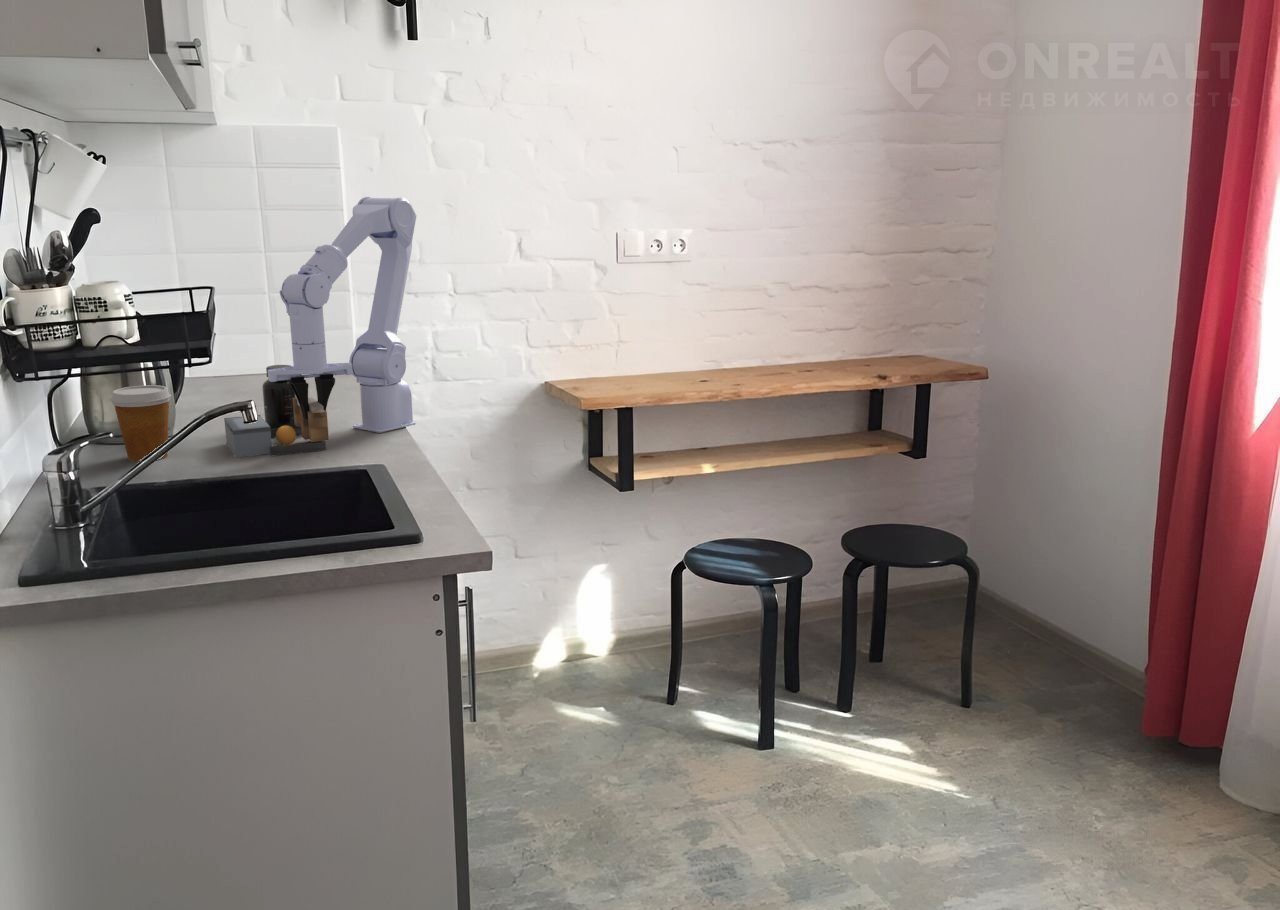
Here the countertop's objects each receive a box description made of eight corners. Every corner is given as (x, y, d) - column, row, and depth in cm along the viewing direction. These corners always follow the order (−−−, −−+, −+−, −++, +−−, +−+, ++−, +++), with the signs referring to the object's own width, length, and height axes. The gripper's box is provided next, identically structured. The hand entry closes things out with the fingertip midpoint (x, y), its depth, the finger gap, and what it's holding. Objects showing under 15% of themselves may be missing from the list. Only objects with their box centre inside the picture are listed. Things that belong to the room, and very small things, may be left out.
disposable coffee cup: (113, 466, 182) (104, 396, 179) (123, 452, 191) (115, 386, 188) (173, 462, 184) (166, 393, 181) (181, 449, 193) (173, 383, 190)
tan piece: (311, 428, 206) (308, 391, 204) (329, 445, 192) (326, 406, 191) (295, 429, 205) (292, 392, 203) (312, 447, 191) (309, 407, 189)
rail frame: (309, 432, 206) (308, 425, 205) (326, 449, 193) (325, 441, 192) (257, 438, 201) (256, 430, 201) (271, 455, 188) (270, 447, 188)
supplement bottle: (258, 428, 209) (252, 367, 206) (284, 421, 215) (279, 362, 212) (283, 432, 206) (278, 370, 203) (309, 425, 212) (305, 365, 209)
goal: (261, 439, 200) (259, 414, 199) (272, 453, 190) (270, 426, 189) (226, 443, 197) (224, 418, 196) (235, 457, 187) (233, 430, 186)
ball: (289, 441, 199) (287, 422, 198) (300, 443, 197) (299, 425, 196) (272, 444, 196) (271, 426, 196) (284, 447, 194) (282, 428, 194)
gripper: (342, 336, 198) (347, 408, 201) (261, 342, 190) (267, 417, 194) (354, 341, 192) (358, 415, 195) (270, 347, 184) (277, 424, 188)
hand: (314, 417), depth 194 cm, fingers closed on tan piece, 2 cm apart
